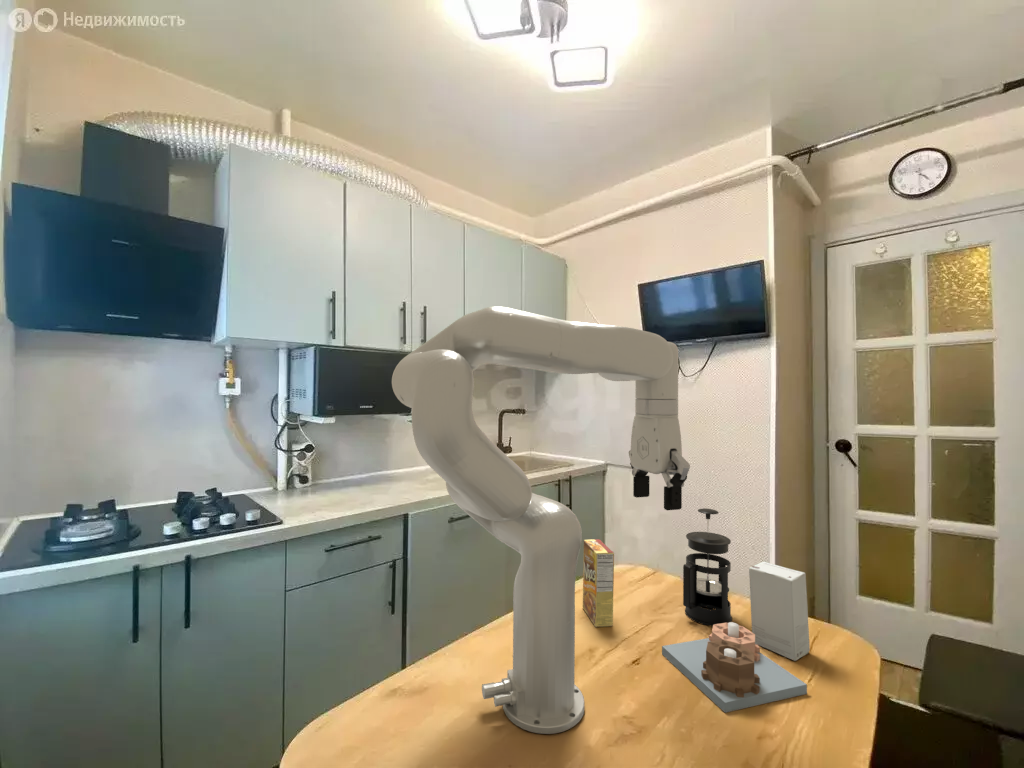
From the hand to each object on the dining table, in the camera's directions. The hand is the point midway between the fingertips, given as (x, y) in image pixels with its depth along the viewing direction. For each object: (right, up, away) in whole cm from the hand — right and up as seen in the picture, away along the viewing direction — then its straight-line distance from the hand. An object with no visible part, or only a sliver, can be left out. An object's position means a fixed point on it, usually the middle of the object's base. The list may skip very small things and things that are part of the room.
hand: (656, 502), depth 84 cm
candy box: (-8, -29, +15) cm, 33 cm away
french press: (+16, -29, +16) cm, 37 cm away
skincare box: (+25, -29, +4) cm, 38 cm away
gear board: (+11, -28, -4) cm, 31 cm away
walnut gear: (+9, -27, -9) cm, 30 cm away
